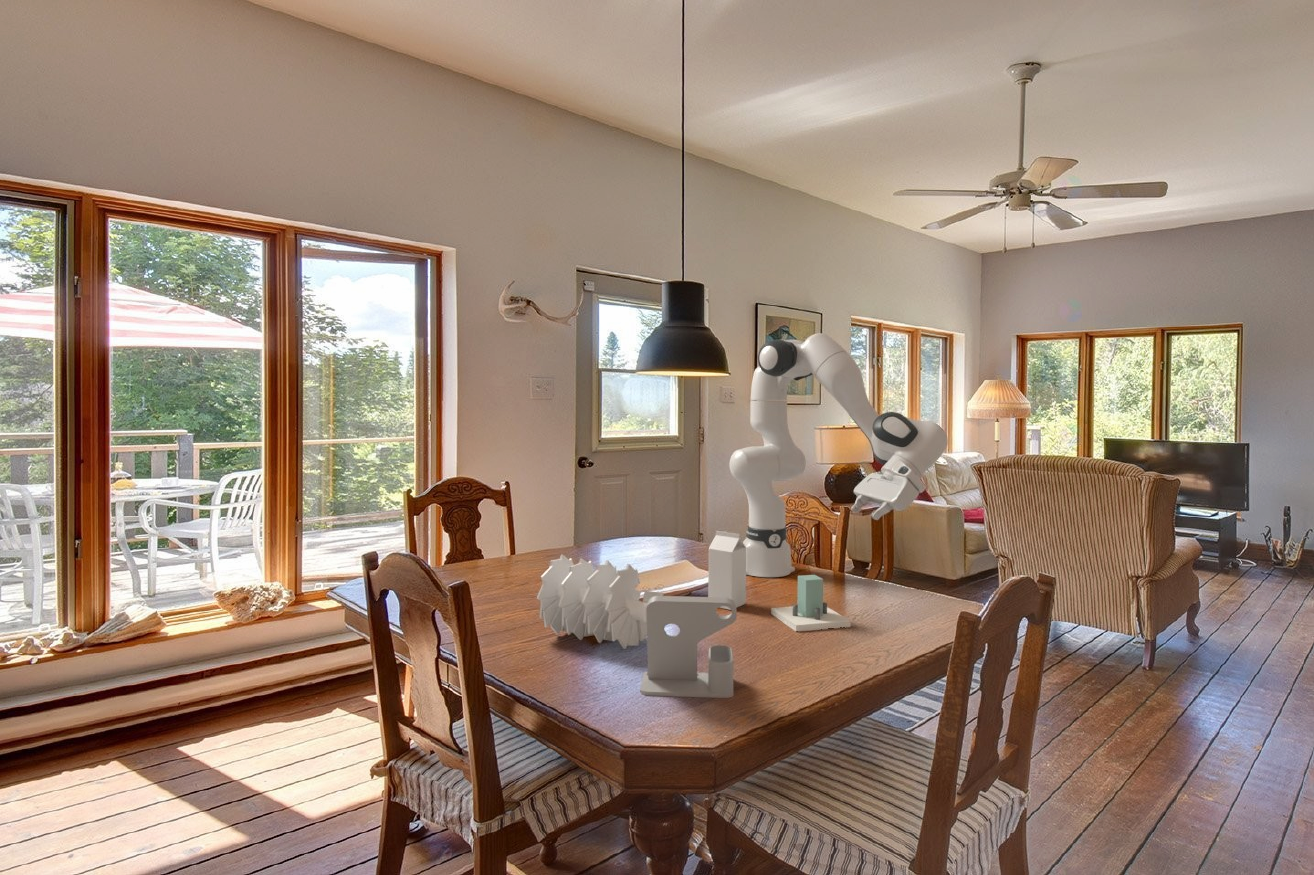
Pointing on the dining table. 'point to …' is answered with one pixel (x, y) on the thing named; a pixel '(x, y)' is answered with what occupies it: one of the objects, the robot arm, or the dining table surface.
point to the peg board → (810, 618)
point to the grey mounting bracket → (687, 647)
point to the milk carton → (727, 568)
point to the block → (809, 595)
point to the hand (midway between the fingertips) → (863, 514)
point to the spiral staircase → (594, 601)
